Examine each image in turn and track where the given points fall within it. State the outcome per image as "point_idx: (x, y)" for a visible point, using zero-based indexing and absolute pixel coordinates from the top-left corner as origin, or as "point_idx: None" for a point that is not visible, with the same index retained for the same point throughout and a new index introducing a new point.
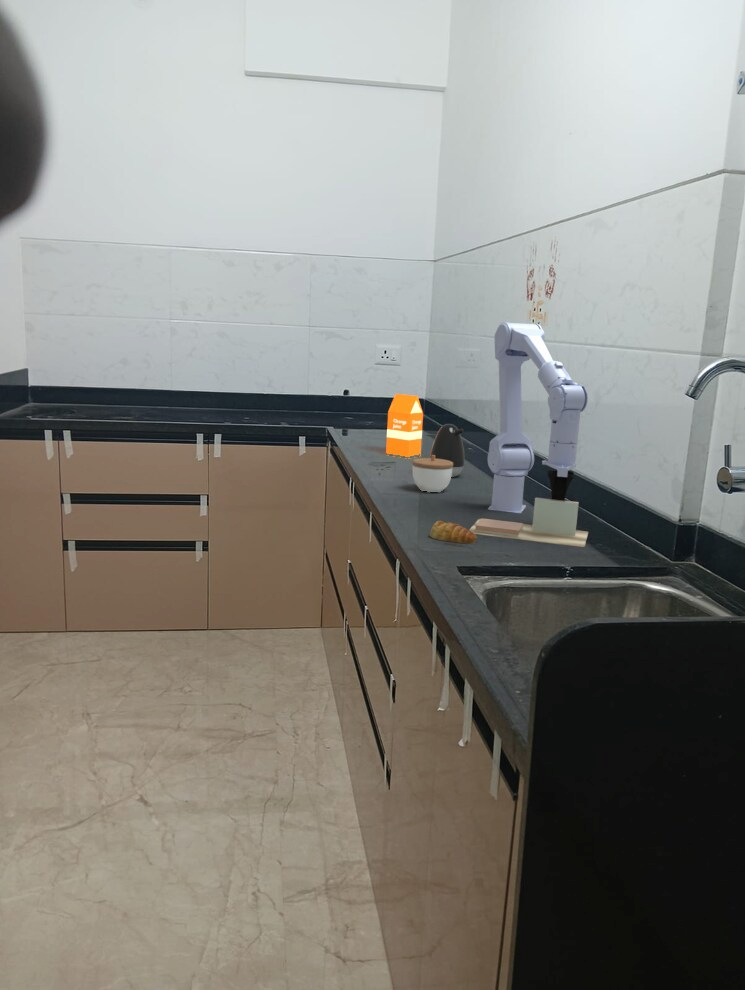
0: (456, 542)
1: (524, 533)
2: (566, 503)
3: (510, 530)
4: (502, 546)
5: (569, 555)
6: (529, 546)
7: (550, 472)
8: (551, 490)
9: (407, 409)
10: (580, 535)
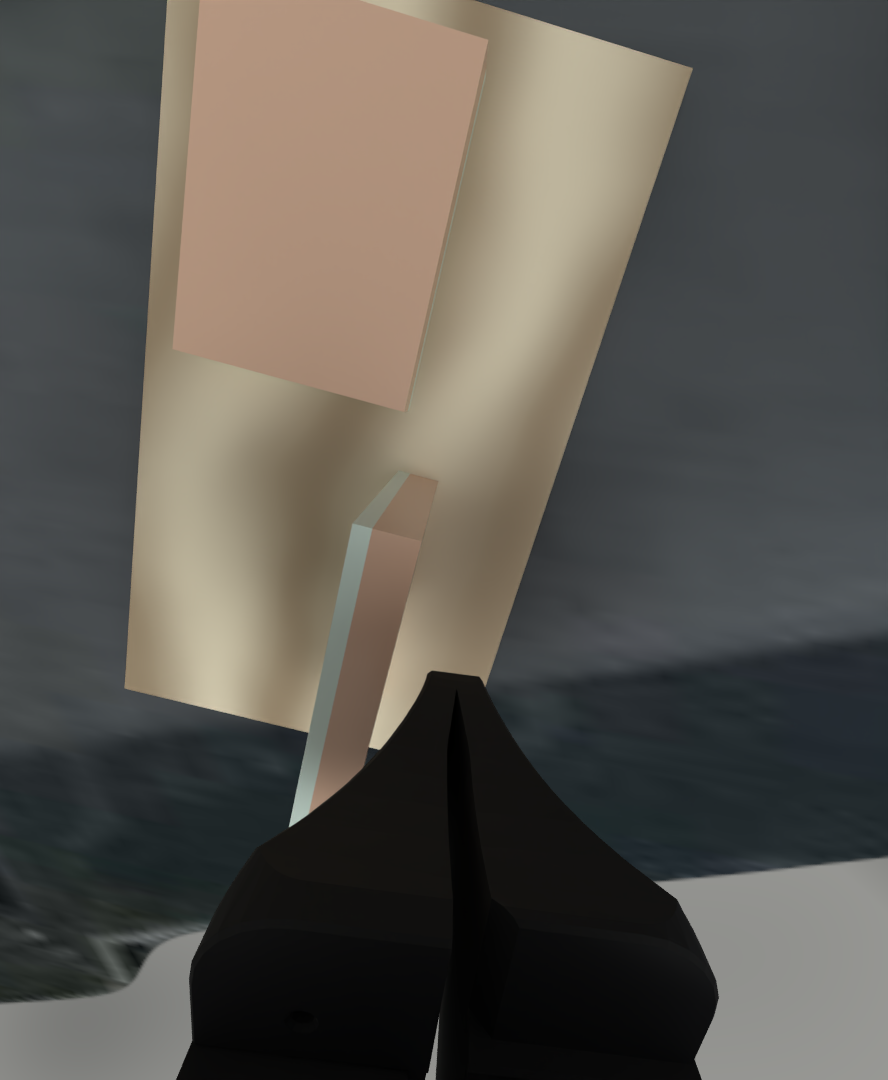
0: None
1: (304, 409)
2: (304, 773)
3: (183, 288)
4: (5, 226)
5: (2, 594)
6: (85, 409)
7: (275, 970)
8: (393, 736)
9: None
10: None
